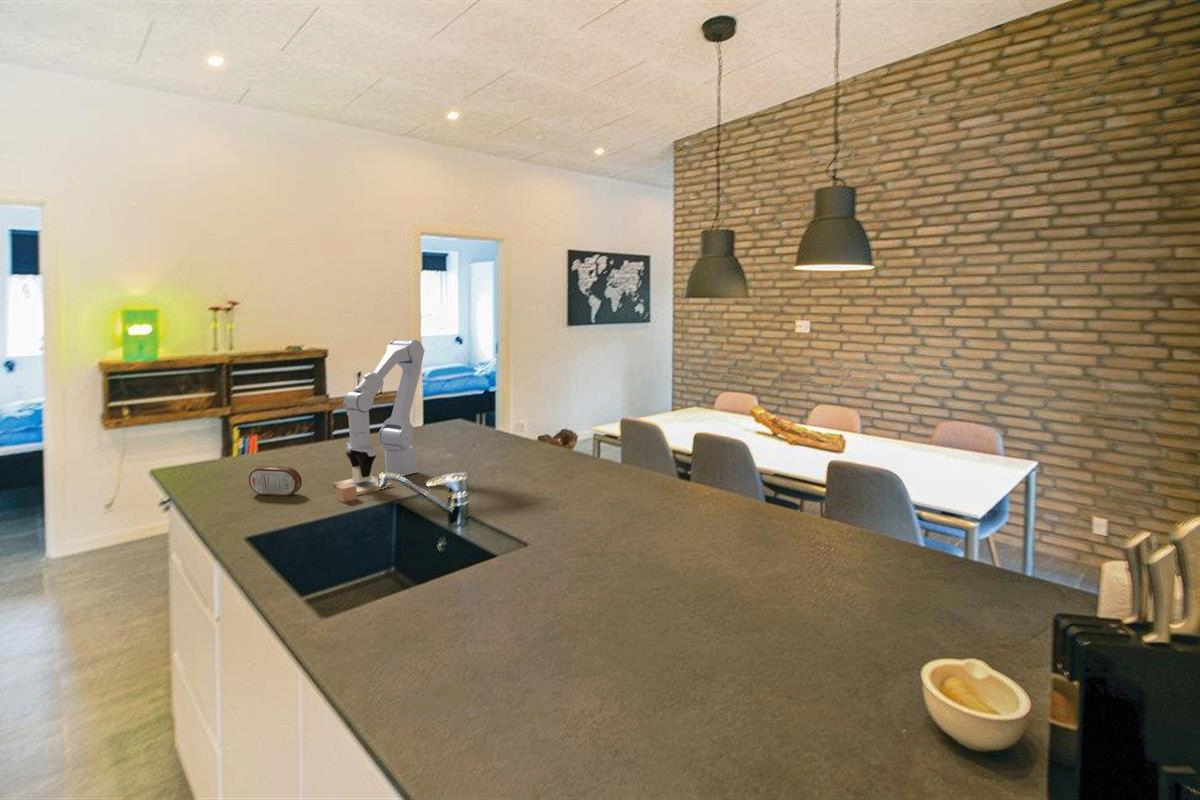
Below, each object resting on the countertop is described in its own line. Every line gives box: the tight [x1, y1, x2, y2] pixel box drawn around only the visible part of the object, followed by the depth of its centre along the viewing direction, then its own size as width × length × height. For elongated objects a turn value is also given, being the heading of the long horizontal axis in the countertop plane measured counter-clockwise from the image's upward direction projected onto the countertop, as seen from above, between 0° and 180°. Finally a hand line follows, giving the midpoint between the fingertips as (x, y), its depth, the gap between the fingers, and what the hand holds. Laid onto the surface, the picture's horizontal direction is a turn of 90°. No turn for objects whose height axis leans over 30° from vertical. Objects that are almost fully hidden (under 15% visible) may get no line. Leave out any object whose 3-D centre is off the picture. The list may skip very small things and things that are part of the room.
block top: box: [335, 483, 358, 503], centre depth 176 cm, size 4×4×4 cm
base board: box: [332, 475, 394, 496], centre depth 188 cm, size 12×14×1 cm
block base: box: [351, 466, 373, 483], centre depth 187 cm, size 4×4×4 cm
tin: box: [248, 465, 303, 497], centre depth 179 cm, size 15×3×8 cm, turn 84°
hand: (362, 475), depth 188 cm, fingers closed on block base, 4 cm apart
